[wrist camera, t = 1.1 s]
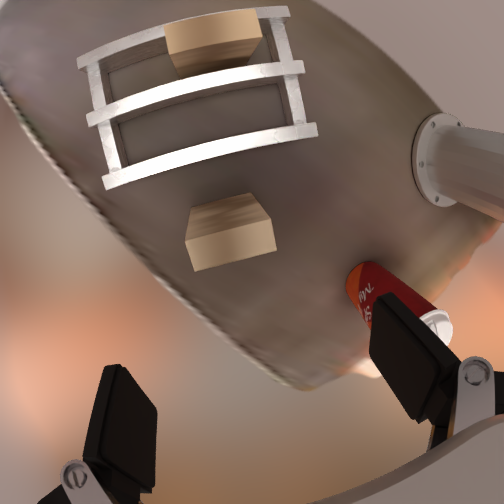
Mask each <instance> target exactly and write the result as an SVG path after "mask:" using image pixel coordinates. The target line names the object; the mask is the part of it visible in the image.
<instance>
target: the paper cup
mask: <svg viewBox="0 0 504 504" xmlns="http://www.w3.org/2000/svg"><path fill="white" fill-rule="evenodd" d="M346 291H347V294H348V296H349V297H350V299H351V300H352V302H353V304H354V305H355V307H356V308H357V310H358V311H359V313H360V314H361V316H362V317H363V319H364V320H365V322H366V323H367V325H368V327H369V328H370V330H371V323H372V308H373V302H375V301H376V298H377V297H378V296H380V295H382V294H385V293H388V292H392V293H394V294H395V295H396V296H397V297H398V298H399V299H400V300H401V301H402V302H403V303H404V304H405V305H406V306H407V307H408V308H409V309H410V310H411V311H412V312H413V313H414V314H415V315H416V316H417V317H418V318H420V319H421V320H422V321H423V322H424V323H425V324H426V325H427V326H428V327H429V328H430V329H431V330H432V331H433V332H434V333H435V334H436V335H437V336H438V337H439V338H440V339H441V340H442V341H443V342H444V343H445V345H446V346H448V344H449V342H450V340H451V337H452V333H453V327H452V324H451V322H450V319H449V316H448V314H447V312H446V311H444V310H441V309H437V308H436V307H434V306H433V305H432V304H431V303H430V302H428V301H427V300H426V299H424V298H423V297H422V296H421V295H419V294H418V293H417V292H415V291H414V290H413V289H412V288H410V287H409V286H408V285H406V284H405V283H404V282H402V281H401V280H400V279H398V278H397V277H396V276H394V275H393V274H391V273H390V272H389V271H387V270H386V269H385V268H383V267H382V266H380V265H379V264H377V263H375V262H371V261H368V262H364V263H361V264H359V265H358V266H356V267H355V268H354V269H353V270H352V271H351V273H350V274H349V276H348V278H347V281H346Z"/></svg>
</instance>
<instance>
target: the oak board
mask: <svg viewBox="0 0 504 504" xmlns="http://www.w3.org/2000/svg"><path fill="white" fill-rule="evenodd" d="M163 27H164V32H165V37H166V42H167V47H168V52H169V56H170V58H171V60H172V62H173V64H174V66H175V68H176V70H177V73H178V75H179V77H180V79H181V80H183V79H187V78H191V77H195V76H199V75H203V74H208V73H212V72H217V71H222V70H227V69H233V68H238V67H244V66H245V65H246V64H247V62H248V60H249V58H250V57H251V55H252V53H253V52H254V50H255V49H256V47H257V45H258V44H259V42H260V40H261V39H262V37H263V36H262V32H261V29H260V25H259V21H258V18H257V14H256V10H255V9H246V10H237V11H230V12H223V13H217V14H211V15H206V16H201V17H196V18H191V19H187V20H183V21H178V22H175V23H171V24H167V25H163Z"/></svg>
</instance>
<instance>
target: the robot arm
mask: <svg viewBox="0 0 504 504" xmlns="http://www.w3.org/2000/svg"><path fill="white" fill-rule="evenodd" d="M412 166H413V173H414V177H415V181H416V184H417V186H418V188H419V191H420V192H421V194H422V195H423V196H424V198H425V199H426V200H428V201H429V202H430V203H432V204H434V205H437V206H439V207H448V206H452V205H453V204H455V203H457V202H460V203H462V204H464V205H467V206H469V207H471V208H473V209H476V210H478V211H480V212H482V213H484V214H487V215H489V216H491V217H493V218H495V219H497V220H499V221H501V222H503V223H504V134H503V133H498V132H493V131H487V130H481V129H475V128H467V127H465V126H464V125H463V124H462V122H461V121H460V120H458V118H456V117H455V116H453V115H451V114H447V113H436V114H433V115H431V116H429V117H428V118H427V119H426V120H425V121H424V122H423V123H422V124H421V126H420V128H419V129H418V132H417V134H416V137H415V141H414V145H413V153H412ZM369 354H370V357H371V359H372V361H373V362H374V364H375V365H376V367H377V368H378V370H379V371H380V373H381V374H382V376H383V377H384V379H385V380H386V381H387V383H388V385H389V386H390V388H391V389H392V391H393V392H394V394H395V395H396V397H397V398H398V400H399V401H400V403H401V405H402V406H403V408H404V409H405V411H406V412H407V414H408V415H409V417H410V418H411V419H412V420H414V419H415V420H416V421H417V422H418V424H419V423H421V422H423V421H424V420H426V419H429V421H430V422H431V424H432V428H431V433H430V438H429V442H428V447H427V451H426V453H425V454H423V455H421V456H419V457H418V458H416V459H414V460H412V461H410V462H408V463H407V464H405V465H403V466H401V467H399V468H397V469H395V470H394V471H391V472H389V473H387V474H385V475H383V476H381V477H379V478H376V479H374V480H372V481H370V482H367V483H365V484H363V485H360V486H358V487H355V488H353V489H350V490H348V491H345V492H342V493H340V494H337V495H334V496H331V497H328V498H325V499H322V500H319V501H315V502H312V503H308V504H504V372H498V371H493V368H492V366H491V364H490V363H489V362H488V361H487V360H486V359H484V358H481V357H477V356H474V357H469V358H467V359H465V360H464V361H463V362H461V361H460V360H459V359H458V358H457V356H456V355H455V354H454V353H453V352H452V351H451V350H450V349H449V348H448V347H447V346H446V345H445V343H444V342H443V341H442V340H441V339H440V338H439V337H438V336H437V335H436V334H435V333H434V332H433V331H432V330H431V329H430V328H429V327H428V326H427V325H426V324H425V323H424V322H423V321H422V320H421V319H420V318H418V317H417V316H416V315H415V314H414V313H413V312H412V311H411V310H410V309H409V308H408V307H407V306H406V305H405V304H404V303H403V302H402V301H401V300H400V299H399V298H398V297H397V296H396V295H395V294H394V293H392V292H388V293H385V294H382V295H380V296H378V297H377V298H376V301H375V302H373V308H372V323H371V335H370V346H369ZM156 433H157V410H156V407H155V406H154V405H153V403H152V402H151V401H150V400H149V398H148V397H147V396H146V394H145V393H144V392H143V390H142V389H141V388H140V387H139V385H138V384H137V383H136V381H135V380H134V378H133V377H132V376H131V374H130V373H129V371H128V370H127V369H126V368H125V367H122V366H121V365H120V364H114V365H107V366H105V367H104V370H103V373H102V376H101V380H100V383H99V387H98V391H97V394H96V398H95V402H94V406H93V410H92V414H91V418H90V422H89V427H88V432H87V436H86V441H85V446H84V451H83V461H81V460H77V459H76V460H71V461H69V462H67V463H66V464H65V465H64V466H63V468H62V470H61V474H60V480H61V483H62V484H61V485H59V486H58V487H57V488H56V489H54V490H53V491H52V492H50V493H49V494H48V495H46V496H45V497H44V498H42V499H41V500H40V501H39V502H38V503H37V504H143V502H142V501H141V500H140V493H152V488H153V487H154V486H155V460H156Z"/></svg>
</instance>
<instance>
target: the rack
mask: <svg viewBox="0 0 504 504" xmlns="http://www.w3.org/2000/svg"><path fill="white" fill-rule="evenodd" d="M246 9H255V10H256V14H257V18H258V21H259V25H260V29H261V32H262V34H266V37H267V41H268V45H269V49H270V53H271V57H272V61H273V63H265V64H258V65H251V66H244V67H238V68H233V69H227V70H222V71H217V72H212V73H208V74H203V75H199V76H195V77H191V78H187V79H183V80H179V81H176V82H172V83H169V84H165V85H162V86H159V87H156V88H152V89H149V90H146V91H143V92H140V93H138V94H135V95H132V96H129V97H127V98H124V99H121V100H119V101H116V102H114V103H113V98H112V93H111V88H110V83H109V77H108V73H110V72H112V71H115V70H117V69H120V68H122V67H125V66H128V65H130V64H133V63H136V62H139V61H142V60H145V59H148V58H151V57H154V56H157V55H160V54H164V53H167V52H168V47H167V42H166V37H165V32H164V27H163V25H167V24H171V23H175V22H178V21H183V20H187V19H191V18H196V17H201V16H206V15H211V14H217V13H223V12H230V11H237V10H246ZM246 9H237V10H230V11H223V12H217V13H211V14H205V15H200V16H196V17H191V18H187V19H182V20H178V21H174V22H170V23H167V24H163V25H160V26H156V27H153V28H150V29H147V30H144V31H141V32H138V33H135V34H132V35H129V36H126V37H124V38H121V39H118V40H116V41H113V42H111V43H109V44H106V45H104V46H101V47H99V48H97V49H95V50H93V51H90V52H88V53H86V54H84V55H82V56H80V57H78V58H77V65H78V70H81V71H83V72H85V73H87V74H88V78H89V84H90V90H91V95H92V100H93V105H94V110H95V111H92V112H90V113H88V114H86V117H87V121H88V126H89V127H91V128H99V133H100V137H101V141H102V145H103V149H104V153H105V156H106V160H107V164H108V167H109V171H110V173H109V174H107V175H105V176H102V179H103V183H104V186H105V189H106V190H108V189H111V188H113V187H116V186H119V185H122V184H125V183H128V182H131V181H133V180H136V179H139V178H142V177H146V176H149V175H152V174H155V173H158V172H161V171H165V170H168V169H171V168H175V167H178V166H182V165H185V164H189V163H192V162H196V161H200V160H204V159H208V158H211V157H215V156H219V155H224V154H228V153H232V152H236V151H241V150H245V149H250V148H255V147H260V146H264V145H270V144H275V143H280V142H286V141H291V140H297V139H303V138H310V137H316V136H318V132H317V126H316V122H314V123H307V121H306V116H305V111H304V106H303V102H302V97H301V92H300V88H299V83H298V79H297V77H299V76H301V75H303V74H304V73H305V69H304V65H303V60H296V61H293V58H292V54H291V50H290V46H289V42H288V38H287V35H286V31H285V27H284V24H285V23H286V22H287V20H288V19H289V18H290V17H291V16H290V13H289V10H288V6H270V7H256V8H246ZM277 83H278V86H279V91H280V95H281V100H282V105H283V109H284V114H285V119H286V124H287V126H281V127H276V128H270V129H264V130H259V131H254V132H249V133H244V134H240V135H235V136H230V137H226V138H222V139H218V140H214V141H209V142H206V143H202V144H198V145H194V146H190V147H187V148H183V149H180V150H176V151H173V152H169V153H166V154H163V155H160V156H156V157H153V158H150V159H147V160H144V161H141V162H138V163H135V164H132V165H129V164H128V161H127V157H126V153H125V149H124V146H123V142H122V138H121V134H120V129H119V125H118V123H121V122H123V121H126V120H129V119H132V118H134V117H137V116H140V115H143V114H146V113H149V112H152V111H155V110H158V109H162V108H165V107H168V106H171V105H175V104H178V103H182V102H186V101H190V100H193V99H197V98H201V97H206V96H210V95H214V94H219V93H223V92H228V91H233V90H239V89H244V88H250V87H256V86H262V85H269V84H277Z"/></svg>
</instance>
